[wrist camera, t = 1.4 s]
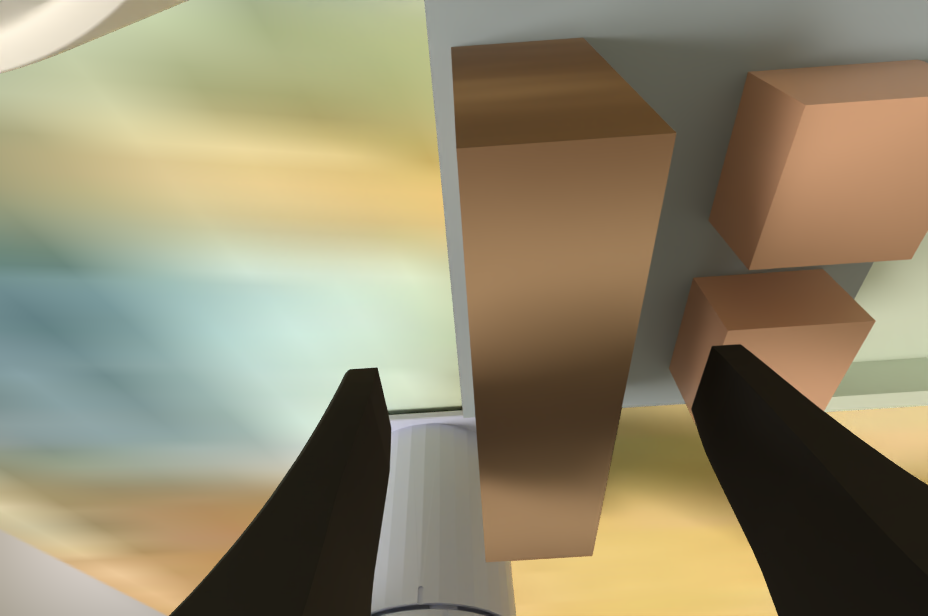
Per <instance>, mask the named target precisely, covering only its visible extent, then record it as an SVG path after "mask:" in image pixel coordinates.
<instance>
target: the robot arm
mask: <svg viewBox="0 0 928 616" xmlns="http://www.w3.org/2000/svg"><path fill="white" fill-rule="evenodd" d="M691 410H692V413H693V416H694V420H695V423H696V426H697V429H698V432H699V435H700V438H701V441H702V444H703V447H704V450H705V452H706V455H707V457H708V459H709V461H710V463H711V465H712V467H713V470H714V472H715V474H716V476H717V478H718V480H719V482H720V484H721V486H722V488H723V490H724V492H725V495H726V497H727V499H728V501H729V503H730V505H731V507H732V509H733V511H734V513H735V515H736V517H737V519H738V521H739V523H740V525H741V527H742V529H743V532H744V534H745V536H746V538H747V540H748V542H749V544H750V546H751V548H752V550H753V552H754V555H755V557H756V559H757V561H758V564H759V566H760V568H761V571H762V573H763V576H764V578H765V581H766V584H767V587H768V589H769V592H770V595H771V597H772V600H773V603H774V605H775V608H776V611H777V613H778V616H928V485H927V484H925V483H924V482H922V481H920V480H919V479H917V478H916V477H914V476H913V475H911V474H910V473H908V472H907V471H905V470H904V469H902V468H901V467H899V466H898V465H896V464H895V463H893V462H892V461H891V460H889V459H888V458H886V457H885V456H884V455H882V454H881V453H879V452H878V451H877V450H875V449H874V448H872V447H871V446H870V445H868V444H867V443H865V442H864V441H863V440H861V439H860V438H858V437H857V436H856V435H854V434H853V433H852V432H850V431H849V430H848V429H846V428H845V427H844V426H842V425H841V424H840V423H838V422H837V421H836V420H835V419H833V418H832V417H831V416H829V415H828V414H827V413H826V412H824V411H823V410H822V409H820V408H819V407H818V406H817V405H815V404H814V403H813V402H812V401H810V400H809V399H808V398H807V397H805V396H804V395H803V394H802V393H800V392H799V391H798V390H797V389H795V388H794V387H793V386H792V385H791V384H789V383H788V382H787V381H786V380H784V379H783V378H782V377H781V376H780V375H778V374H777V373H776V372H775V371H773V370H772V369H771V368H770V367H769V366H767V365H766V364H765V363H764V362H762V361H761V360H760V359H759V358H758V357H756V356H755V355H754V354H753V353H751V352H750V351H749V350H747V349H746V348H745V347H744V346H742V345H741V344H735V345H719V346H712V347H711V350H710V353H709V356H708V359H707V362H706V365H705V368H704V371H703V374H702V377H701V380H700V383H699V386H698V389H697V392H696V395H695V398H694V401H693V404H692V408H691ZM169 616H516V609H515V599H514V589H513V580H512V570H511V561H500V562H486V560H485V546H484V532H483V518H482V503H481V489H480V475H479V461H478V447H477V433H476V419H475V417H471V418H463V410H459V411H443V412H428V413H412V414H397V415H388V411H387V407H386V402H385V398H384V394H383V389H382V385H381V381H380V377H379V372H378V368H365V369H350V370H348V371H347V372H346V373H345V375H344V377H343V379H342V381H341V383H340V385H339V387H338V389H337V391H336V393H335V395H334V397H333V399H332V400H331V402H330V404H329V406H328V408H327V409H326V411H325V413H324V415H323V416H322V418H321V420H320V422H319V423H318V425H317V427H316V428H315V430H314V432H313V433H312V435H311V437H310V438H309V440H308V442H307V443H306V445H305V446H304V448H303V450H302V451H301V453H300V454H299V456H298V458H297V459H296V461H295V462H294V464H293V465H292V467H291V468H290V469H289V471H288V472H287V474H286V475H285V477H284V478H283V480H282V481H281V483H280V484H279V486H278V487H277V488H276V490H275V491H274V493H273V494H272V496H271V497H270V498H269V500H268V501H267V502H266V504H265V505H264V507H263V508H262V509H261V511H260V512H259V513H258V514H257V516H256V517H255V518H254V520H253V521H252V522H251V524H250V525H249V526H248V527H247V529H246V530H245V531H244V532H243V534H242V535H241V536H240V537H239V539H238V540H237V541H236V542H235V543H234V545H233V546H232V547H231V548H230V549H229V550H228V552H227V553H226V554H225V555H224V556H223V557H222V559H221V560H220V561H219V562H218V563H217V564H216V566H215V567H214V568H213V569H212V570H211V571H210V573H209V574H208V575H207V576H206V577H205V578H204V579H203V581H202V582H201V583H200V584H199V585H198V586H197V587H196V588H195V589H194V590H193V592H192V593H191V594H190V595H189V596H188V597H187V598H186V599H185V600H184V601H183V602H182V603H181V604H180V605H179V606H178V607H177V608H176V609H175V610H174V611H173V612H172V613H171V614H170V615H169Z"/></svg>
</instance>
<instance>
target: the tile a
mask: <svg viewBox="0 0 928 616" xmlns="http://www.w3.org/2000/svg"><path fill="white" fill-rule="evenodd" d="M875 322H876V321H875V320H874V319H873V318H872V317H871V316H870V315H869V314H868V313H867V312H866V311H865V310H864V309H863V308H862V307H861V306H860V305H859V304H858V303H857V302H856V301H855V300H854V299H853V298H852V297H851V296H850V295H849V294H848V293H847V292H846V291H845V290H844V289H843V288H842V287H841V286H840V285H839V284H838V283H837V282H836V281H835V280H834V279H833V278H832V277H831V276H830V275H829V274H828V273H827V272H826V271H825V270H824V269H814V270H799V271H784V272H769V273H754V274H739V275H725V276H710V277H695V278H693V280H692V284H691V288H690V291H689V295H688V299H687V303H686V306H685V310H684V314H683V318H682V321H681V325H680V329H679V333H678V336H677V340H676V344H675V348H674V351H673V355H672V359H671V363H670V366H669V370H670V372H671V374H672V376H673V378H674V380H675V382H676V385H677V387H678V389H679V391H680V393H681V395H682V397H683V399H684V401H685V403H686V405H687V408H688V410H689V412H690V414H691V416H692V418H693V420H694V416H693V413H692V410H691V408H692V404H693V401H694V398H695V395H696V392H697V389H698V386H699V383H700V380H701V377H702V374H703V371H704V368H705V365H706V362H707V359H708V356H709V353H710V350H711V347H712V346H719V345H735V344H741V345H742V346H744V347H745V348H746V349H747V350H749V351H750V352H751V353H753V354H754V355H755V356H756V357H758V358H759V359H760V360H761V361H762V362H764V363H765V364H766V365H767V366H769V367H770V368H771V369H772V370H773V371H775V372H776V373H777V374H778V375H780V376H781V377H782V378H783V379H784V380H786V381H787V382H788V383H789V384H791V385H792V386H793V387H794V388H795V389H797V390H798V391H799V392H800V393H802V394H803V395H804V396H805V397H807V398H808V399H809V400H810V401H812V402H813V403H814V404H815V405H817V406H818V407H819V408H820V409H822V410H823V411H824V410H825V409H826V407H827V405H828V403H829V402H830V400H831V398H832V396H833V395H834V393H835V391H836V389H837V388H838V386H839V384H840V383H841V381H842V379H843V377H844V376H845V374H846V372H847V370H848V369H849V367H850V365H851V363H852V362H853V360H854V358H855V356H856V355H857V353H858V351H859V349H860V348H861V346H862V344H863V342H864V341H865V339H866V337H867V336H868V334H869V332H870V330H871V329H872V327H873V325H874V323H875ZM694 422H695V420H694ZM695 424H696V423H695Z"/></svg>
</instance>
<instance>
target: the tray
mask: <svg viewBox="0 0 928 616" xmlns="http://www.w3.org/2000/svg"><path fill="white" fill-rule="evenodd" d="M854 300H855V301H856V302H857V303H858V304H859V305H860V306H861V307H862V308H863V309H864V310H865V311H866V312H867V313H868V314H869V315H870V316H871V317H872V318H873V319H874V320H875V321H876V322H875V323H874V325H873V327H872V329H871V330H870V332H869V334H868V336H867V337H866V339H865V341H864V342H863V344H862V346H861V348H860V349H859V351H858V353H857V355H856V356H855V358H854V360H853V362H852V363H851V365H850V367H849V369H848V370H847V372H846V374H845V376H844V377H843V379H842V381H841V383H840V384H839V386H838V388H837V389H836V391H835V393H834V395H833V396H832V398H831V400H830V402H829V403H828V405H827V407H826V409H825V410H824V412H834V411H849V410H865V409H881V408H896V407H912V406H928V231H927V233H926V235H925V236H924V238H923V240H922V242H921V243H920V245H919V247H918V248H917V250H916V252H915V254H914V255H913V257H912V259H908V260H893V261H878V262H874V263H873V264H872V266H871V268H870V270H869V272H868V274H867V276H866V278H865V280H864V282H863V284H862V286H861V287H860V289H859V291H858V293H857V295H856V297H855V299H854Z"/></svg>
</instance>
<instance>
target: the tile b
mask: <svg viewBox="0 0 928 616" xmlns="http://www.w3.org/2000/svg"><path fill="white" fill-rule="evenodd" d="M708 221H709V222H710V223H711V224H712V226H713V227H714V228H715V229H716V231H717V232H718V233H719V234H720V236H721V237H722V238H723V239H724V240H725V242H726V243H727V244H728V245H729V247H730V248H731V249H732V250H733V251H734V253H735V254H736V255H737V256H738V258H739V259H740V260H741V261H742V263H743V264H744V265H745V266H746V267H747V269H748V270H759V269H774V268H789V267H804V266H819V265H834V264H849V263H863V262H878V261H893V260H908V259H912V257H913V255H914V254H915V252H916V250H917V248H918V247H919V245H920V243H921V242H922V240H923V238H924V236H925V235H926V233H927V231H928V63H927V62H924V61H921V60H904V61H890V62H876V63H862V64H848V65H834V66H820V67H806V68H793V69H779V70H765V71H751V72H748V74H747V78H746V81H745V85H744V89H743V93H742V96H741V100H740V104H739V108H738V111H737V115H736V119H735V123H734V126H733V130H732V134H731V138H730V141H729V145H728V149H727V153H726V156H725V160H724V164H723V168H722V171H721V175H720V179H719V183H718V186H717V190H716V194H715V198H714V201H713V205H712V209H711V213H710V216H709V220H708Z"/></svg>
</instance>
